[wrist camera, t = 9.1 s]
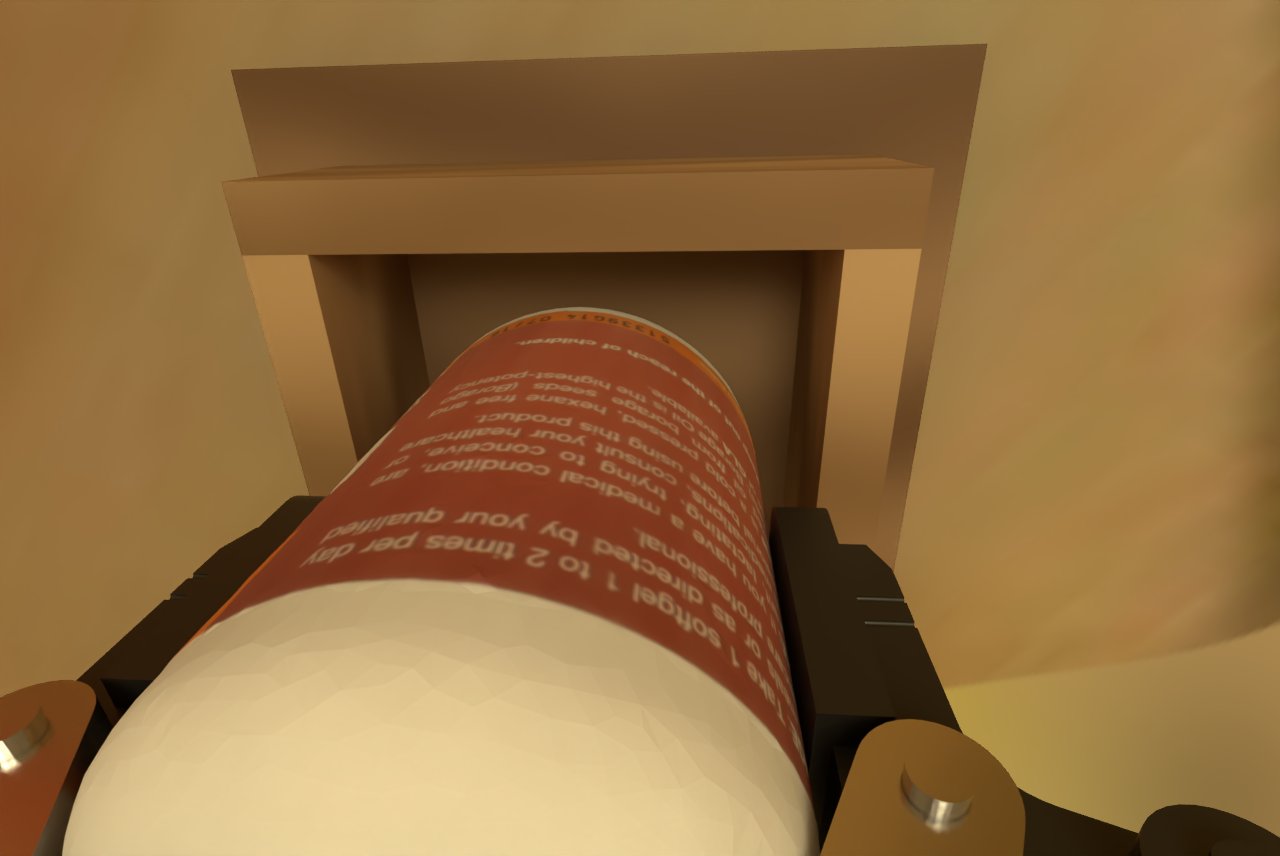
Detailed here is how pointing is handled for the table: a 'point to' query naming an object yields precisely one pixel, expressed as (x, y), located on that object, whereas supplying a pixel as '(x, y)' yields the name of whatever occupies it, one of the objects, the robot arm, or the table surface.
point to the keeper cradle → (620, 238)
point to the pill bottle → (494, 636)
